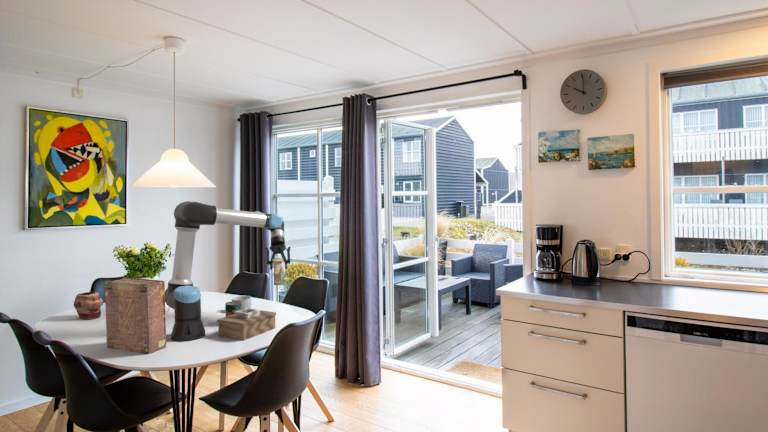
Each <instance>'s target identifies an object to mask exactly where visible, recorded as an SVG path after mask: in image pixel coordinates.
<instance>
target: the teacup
mask: <svg viewBox="0 0 768 432" xmlns="http://www.w3.org/2000/svg"><path fill="white" fill-rule="evenodd" d="M231 301H240V302H241V310H242V309H245V308H250V309H252V296H251V295H240V296H239V295H238V296H234V297H232V298H231Z"/></svg>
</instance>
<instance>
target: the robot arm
mask: <svg viewBox="0 0 768 432" xmlns="http://www.w3.org/2000/svg"><path fill="white" fill-rule="evenodd" d="M173 218H174V219H175V222H174V228H175V230H176V231H177V233H176V242H175V248H174V249H175V250H174V259H173V267H172V276H171V278H170V280H168V282H167V287H166V289H165V305H167V306H168V307H169V308H170V309H172V310H174V323H173V327H172V331H171V332H170V333H171V334H170V339H171V340H172V341H175V342H189V341H193V340H198V339H202V338H204V336H205V335H206V329H205V326H204V324H203V320H202V309H201V308H202V306H201V305H202V300H201V299H202V298H201V297H202V293H201V289H200V287H198V286H196V285H194V282H193V281H192V280H191V278H192V269H193V260H194V255H195V254H194V252H195V243H196V235H197V232H198V231H200V229H201V228H200V227H201V226H214V225H216V224H217V225H218V224H219V225H220V224H221V225H229V226H230V225H232V226H242V227H243V226H244V227H255V228H256V227H257V228H263V229H264V230H268V231H270V245H269V246H270V247H265V249H264V250H265V254H266V265H269V270H271V271H272V277H274V263H273V262H272V259H276V258H275V257H276V255H278V254H279V255H280V256H281V259H283V262H282V269H283V270H282V271H283V272H282V273H283V276H285V275H286V270H287V269H288V265H289V264H291V246H286V241H285V222H284V221H285V220H284V218H283V216H281V215H279V214H276V213H264V212H262V211H258V210H255V211H247V210H238V209H228V208H218V207H217V206H216V205H211V204H206V203H202V202H198V201H183V202H180V203H179V204H177V205H176V206H175V208H174V211H173ZM285 250H286V252H287V254H286V255H287V256H285ZM270 251H271V252H272V254H271V257H270ZM286 257H287V258H286Z"/></svg>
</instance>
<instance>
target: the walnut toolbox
mask: <svg viewBox="0 0 768 432" xmlns="http://www.w3.org/2000/svg"><path fill="white" fill-rule="evenodd" d="M276 315H277V311H276V312H275V311H269V310H261V309H257V308H245V309H242V310H239V311H236V312H235V314H233V315H230V316H227V317H226V316H224V317H220V318H218V319H216V322H217V323H218V336H219V337H223V338H228V339H233V340H240V341H246V340H249V339H251V338H254V337H257V336H258V335H262V334H264V333H267V332H270V331H272V330H273V329H276Z"/></svg>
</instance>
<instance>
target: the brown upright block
mask: <svg viewBox="0 0 768 432" xmlns="http://www.w3.org/2000/svg"><path fill="white" fill-rule="evenodd" d="M165 282H166V281H165V280H160V279H158V280H157V279H146V278H134V277H122V278H121V279H115V280H104V295H105V297H104V299H105V300H104V301H105V302H104V303H105V304H104V305H105V328H106V347H107V348H109V349H114V350H121V351H128V352H134V353H135V352H136V353H141V354H148V355H149V354H153V353H155V352H157V351H160V350H163V349H164V348H167V333H166V331H167V330H166V329H167V328H166V326H167V325H166V302H165V291H166V289H165V288H166V286H165V284H166V283H165Z"/></svg>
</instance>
